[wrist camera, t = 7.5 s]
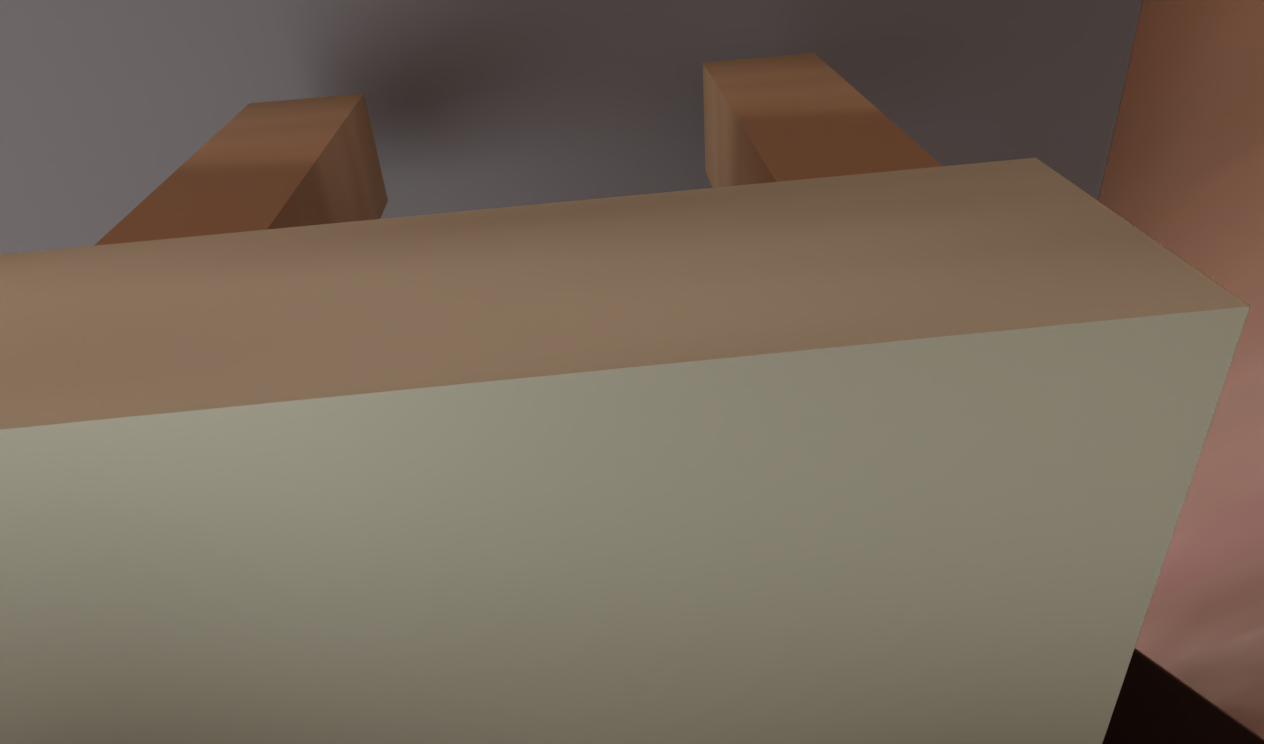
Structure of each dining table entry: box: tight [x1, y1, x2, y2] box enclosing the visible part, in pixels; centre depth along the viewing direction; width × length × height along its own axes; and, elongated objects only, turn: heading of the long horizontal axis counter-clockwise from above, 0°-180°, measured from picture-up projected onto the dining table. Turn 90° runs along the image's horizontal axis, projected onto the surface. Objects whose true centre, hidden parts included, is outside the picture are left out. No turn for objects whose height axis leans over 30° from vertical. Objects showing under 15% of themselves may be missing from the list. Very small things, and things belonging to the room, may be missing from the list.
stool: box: [0, 53, 1250, 744], centre depth 9 cm, size 9×6×6 cm
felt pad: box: [0, 0, 1143, 255], centre depth 12 cm, size 14×14×1 cm
